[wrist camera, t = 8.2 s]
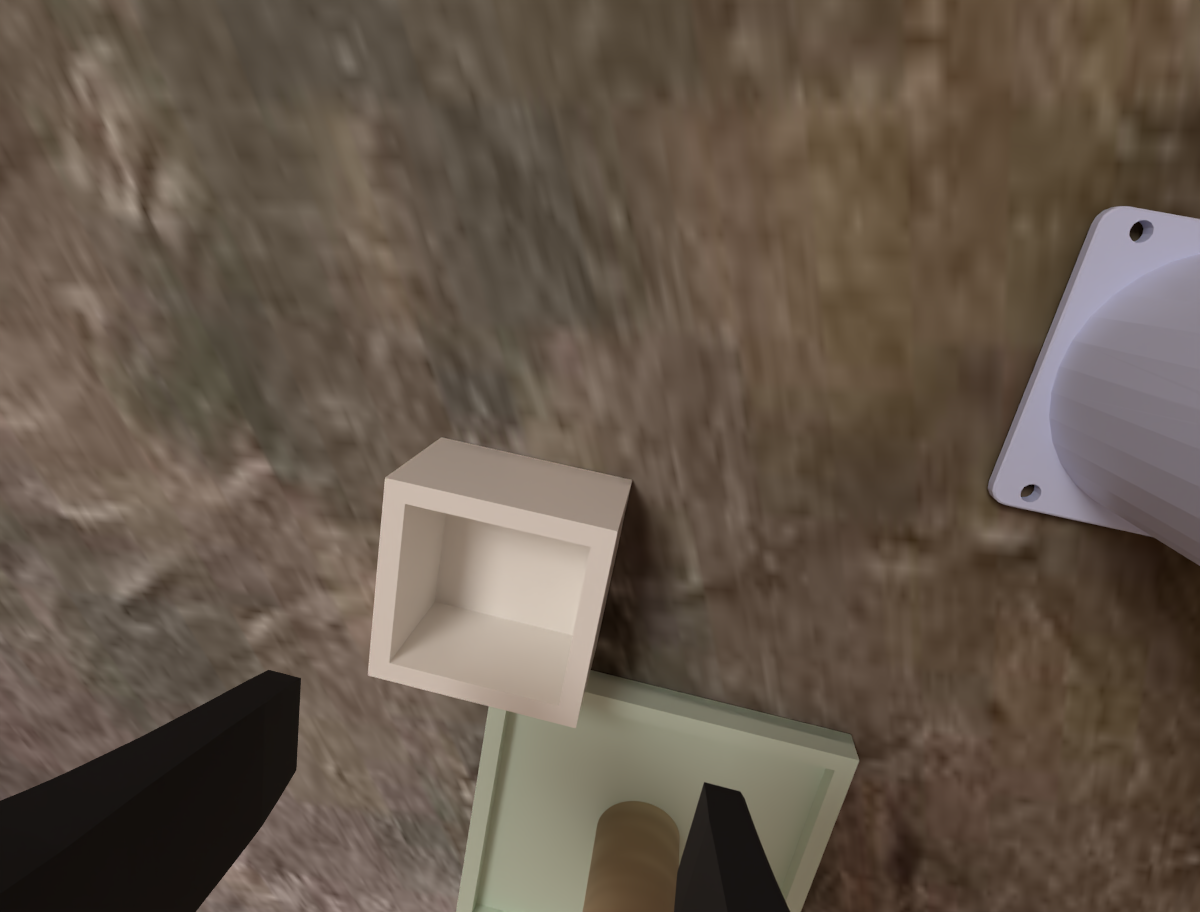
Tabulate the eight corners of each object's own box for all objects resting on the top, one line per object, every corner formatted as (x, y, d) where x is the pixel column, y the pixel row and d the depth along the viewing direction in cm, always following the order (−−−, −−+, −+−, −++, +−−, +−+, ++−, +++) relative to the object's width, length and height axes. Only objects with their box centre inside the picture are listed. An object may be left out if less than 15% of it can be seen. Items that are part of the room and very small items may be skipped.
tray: (850, 734, 22) (859, 760, 21) (758, 980, 26) (761, 1014, 25) (504, 648, 23) (494, 669, 22) (463, 898, 27) (453, 927, 25)
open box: (632, 479, 20) (617, 531, 17) (596, 648, 22) (575, 728, 19) (441, 437, 21) (384, 477, 17) (422, 605, 23) (367, 675, 19)
